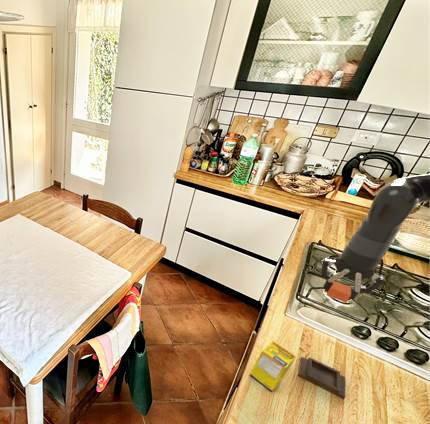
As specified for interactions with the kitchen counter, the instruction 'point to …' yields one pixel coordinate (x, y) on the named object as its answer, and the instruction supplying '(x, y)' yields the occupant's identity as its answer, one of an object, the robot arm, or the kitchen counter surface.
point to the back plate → (322, 376)
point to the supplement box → (272, 365)
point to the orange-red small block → (339, 291)
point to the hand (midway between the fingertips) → (336, 294)
